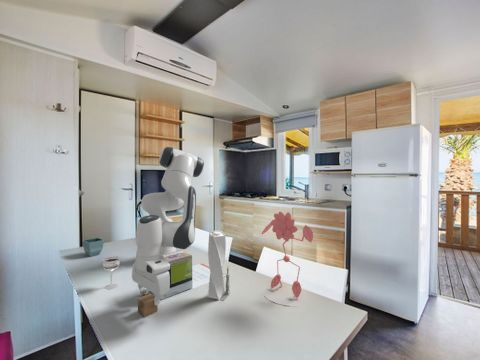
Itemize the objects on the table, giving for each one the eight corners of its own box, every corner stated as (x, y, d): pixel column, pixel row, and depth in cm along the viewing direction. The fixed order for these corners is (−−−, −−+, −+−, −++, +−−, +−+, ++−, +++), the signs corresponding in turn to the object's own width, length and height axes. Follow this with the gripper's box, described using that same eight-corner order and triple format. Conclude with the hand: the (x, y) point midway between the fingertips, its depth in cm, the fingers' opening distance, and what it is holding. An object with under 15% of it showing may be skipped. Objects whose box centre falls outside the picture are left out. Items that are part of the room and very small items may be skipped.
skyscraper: (222, 303, 94) (223, 232, 94) (203, 299, 97) (204, 230, 96) (230, 293, 102) (231, 227, 102) (213, 290, 105) (213, 225, 104)
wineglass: (113, 281, 111) (113, 255, 111) (123, 284, 108) (123, 258, 108) (99, 287, 105) (99, 260, 105) (109, 291, 102) (109, 263, 102)
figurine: (268, 279, 116) (268, 206, 114) (319, 300, 98) (320, 213, 96) (246, 291, 105) (246, 210, 103) (298, 316, 87) (300, 219, 85)
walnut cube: (137, 312, 87) (137, 298, 87) (150, 306, 91) (150, 293, 91) (144, 317, 84) (144, 303, 84) (157, 311, 88) (157, 298, 88)
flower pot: (97, 251, 153) (97, 237, 153) (104, 254, 148) (104, 239, 148) (82, 255, 146) (82, 240, 146) (88, 258, 141) (88, 242, 141)
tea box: (180, 281, 113) (181, 249, 112) (192, 288, 106) (193, 255, 105) (149, 291, 102) (149, 256, 102) (160, 300, 95) (160, 263, 95)
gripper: (127, 257, 91) (127, 293, 92) (156, 271, 78) (156, 313, 78) (143, 253, 96) (143, 287, 96) (173, 265, 83) (173, 306, 83)
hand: (149, 299), depth 87 cm, fingers open, 8 cm apart
